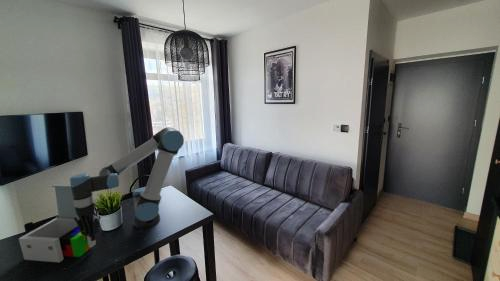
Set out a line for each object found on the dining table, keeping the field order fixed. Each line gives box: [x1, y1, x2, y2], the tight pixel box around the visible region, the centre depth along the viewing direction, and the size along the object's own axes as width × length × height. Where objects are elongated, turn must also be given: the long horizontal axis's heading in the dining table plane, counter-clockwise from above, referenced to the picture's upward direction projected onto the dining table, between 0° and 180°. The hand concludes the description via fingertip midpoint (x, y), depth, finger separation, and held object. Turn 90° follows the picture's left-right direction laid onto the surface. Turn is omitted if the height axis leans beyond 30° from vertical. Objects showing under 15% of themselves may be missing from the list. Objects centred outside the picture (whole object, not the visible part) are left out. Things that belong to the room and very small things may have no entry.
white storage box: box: [18, 214, 78, 263], centre depth 108 cm, size 21×19×14 cm
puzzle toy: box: [59, 227, 97, 258], centre depth 107 cm, size 10×10×10 cm
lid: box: [51, 184, 78, 219], centre depth 114 cm, size 18×20×2 cm
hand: (92, 245), depth 106 cm, fingers closed
